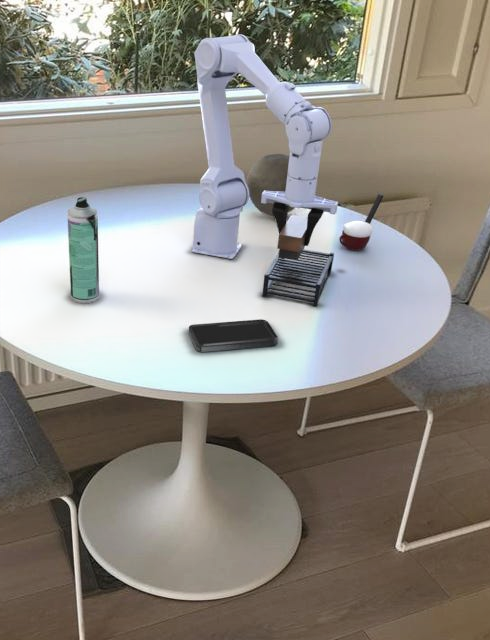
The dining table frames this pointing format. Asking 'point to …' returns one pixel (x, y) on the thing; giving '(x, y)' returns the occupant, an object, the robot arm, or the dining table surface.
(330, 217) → the dining table surface
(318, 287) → the shoe rack
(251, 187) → the cantaloupe
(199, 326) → the phone
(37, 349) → the dining table surface
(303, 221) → the shoe brush
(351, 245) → the cocoa
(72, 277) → the spray can
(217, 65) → the robot arm
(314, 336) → the dining table surface
